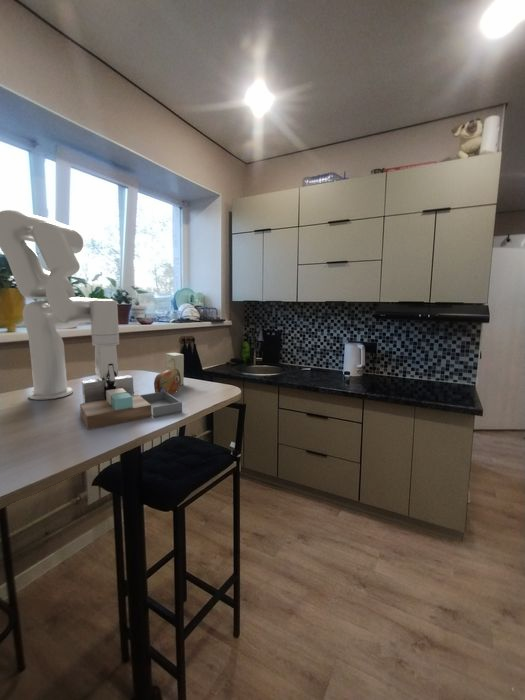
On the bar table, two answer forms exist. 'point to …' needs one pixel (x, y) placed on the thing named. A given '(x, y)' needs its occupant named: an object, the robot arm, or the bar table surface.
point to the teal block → (121, 401)
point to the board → (113, 412)
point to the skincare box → (176, 363)
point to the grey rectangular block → (95, 388)
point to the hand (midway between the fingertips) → (109, 397)
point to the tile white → (114, 393)
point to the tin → (167, 381)
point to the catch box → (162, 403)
